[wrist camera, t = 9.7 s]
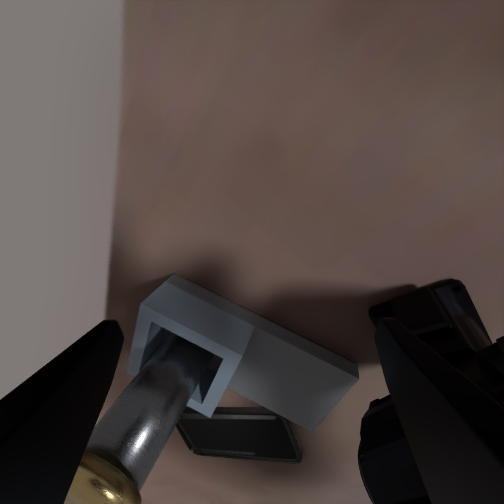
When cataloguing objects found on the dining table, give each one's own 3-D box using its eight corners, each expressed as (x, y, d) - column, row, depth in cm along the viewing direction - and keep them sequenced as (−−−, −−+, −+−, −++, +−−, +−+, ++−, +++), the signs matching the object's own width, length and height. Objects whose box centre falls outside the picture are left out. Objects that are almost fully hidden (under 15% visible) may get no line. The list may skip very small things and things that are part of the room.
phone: (167, 412, 34) (283, 414, 28) (172, 404, 35) (285, 405, 29) (192, 455, 36) (304, 465, 31) (196, 446, 37) (305, 454, 32)
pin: (231, 335, 25) (137, 520, 13) (210, 366, 27) (115, 544, 16) (182, 304, 25) (46, 460, 13) (165, 338, 27) (39, 494, 16)
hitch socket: (357, 365, 24) (362, 417, 20) (312, 417, 28) (308, 471, 24) (174, 273, 26) (140, 303, 21) (156, 336, 30) (125, 372, 25)
